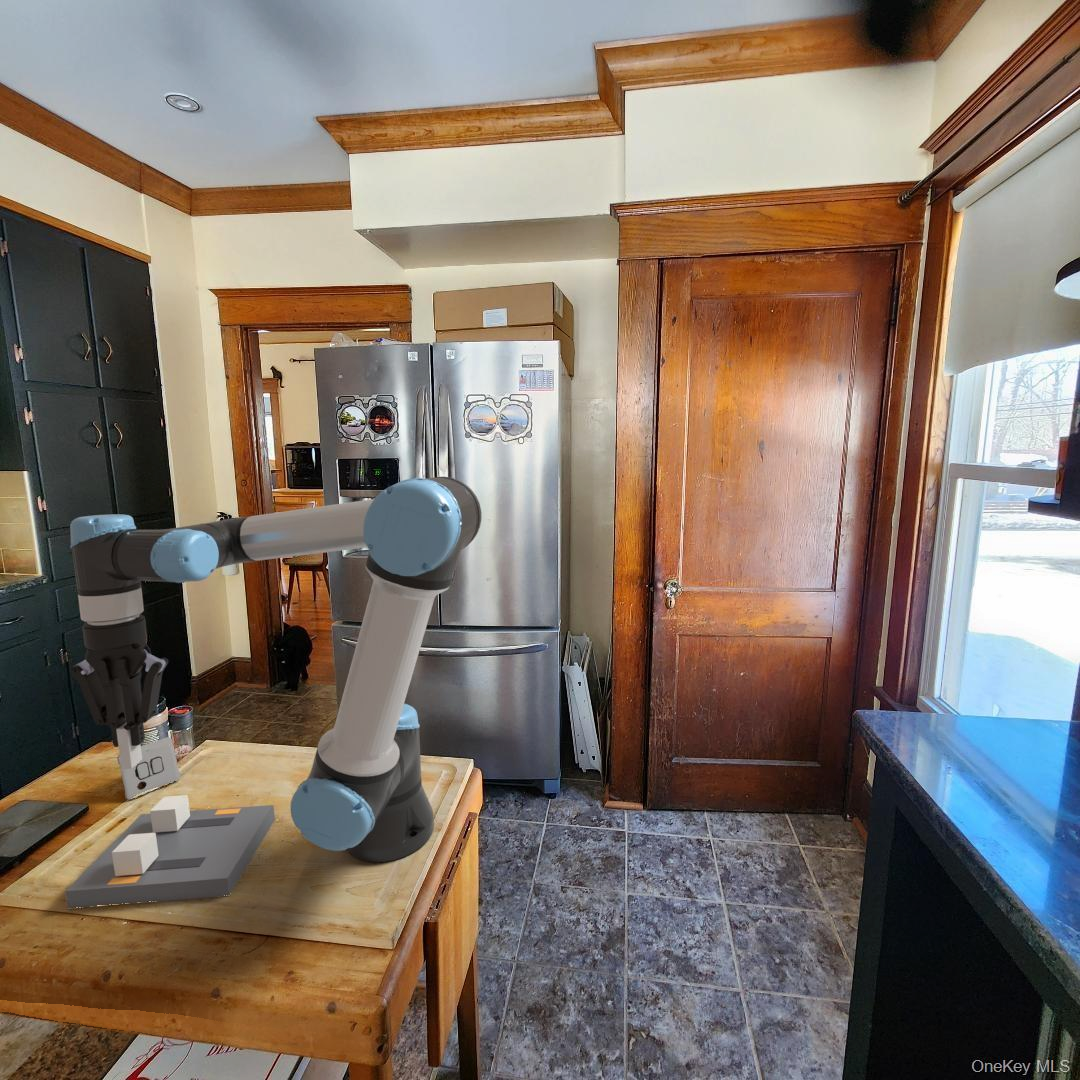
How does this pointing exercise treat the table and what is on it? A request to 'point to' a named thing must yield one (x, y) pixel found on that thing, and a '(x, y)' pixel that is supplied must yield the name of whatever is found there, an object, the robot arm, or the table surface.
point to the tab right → (170, 813)
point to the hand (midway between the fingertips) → (131, 763)
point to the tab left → (135, 854)
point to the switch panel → (180, 859)
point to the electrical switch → (151, 768)
